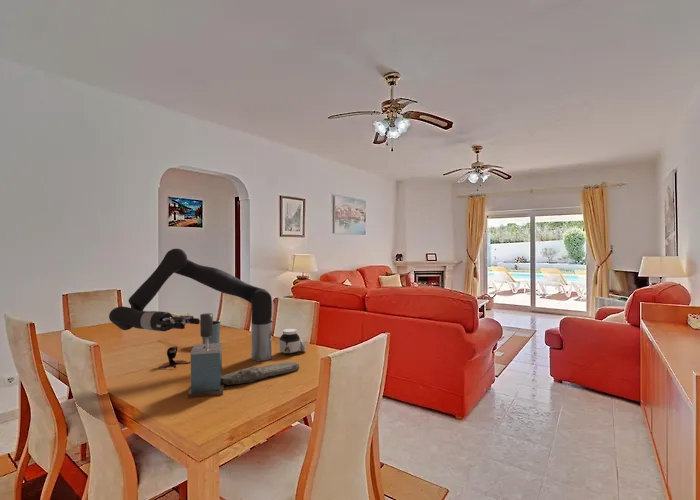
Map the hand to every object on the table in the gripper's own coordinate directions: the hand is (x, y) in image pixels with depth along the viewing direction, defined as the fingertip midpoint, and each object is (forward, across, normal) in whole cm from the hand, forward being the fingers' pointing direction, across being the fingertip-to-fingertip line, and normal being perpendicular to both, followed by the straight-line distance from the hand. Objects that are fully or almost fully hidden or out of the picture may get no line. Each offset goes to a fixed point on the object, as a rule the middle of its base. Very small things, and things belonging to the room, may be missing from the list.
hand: (191, 323), depth 147 cm
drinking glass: (-31, +55, +25) cm, 68 cm away
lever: (+7, 0, +21) cm, 22 cm away
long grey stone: (+20, +19, +25) cm, 37 cm away
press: (+7, 0, +25) cm, 26 cm away
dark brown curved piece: (-26, +22, +26) cm, 42 cm away
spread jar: (+18, +54, +25) cm, 62 cm away
